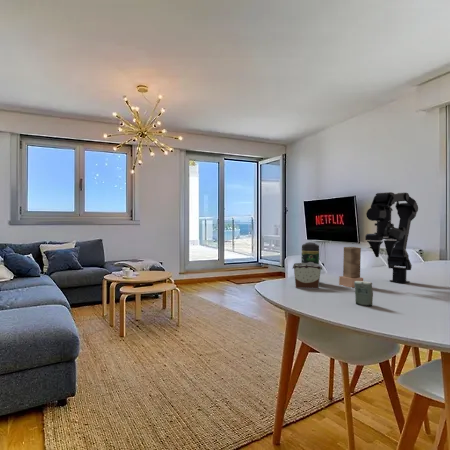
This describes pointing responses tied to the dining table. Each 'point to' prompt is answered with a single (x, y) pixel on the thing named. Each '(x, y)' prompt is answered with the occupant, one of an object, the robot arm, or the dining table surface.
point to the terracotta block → (348, 281)
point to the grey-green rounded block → (363, 293)
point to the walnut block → (351, 262)
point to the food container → (307, 275)
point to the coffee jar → (310, 253)
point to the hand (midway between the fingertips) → (383, 256)
